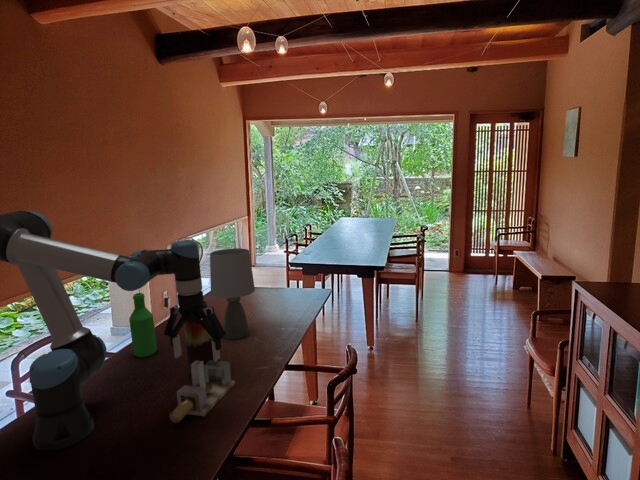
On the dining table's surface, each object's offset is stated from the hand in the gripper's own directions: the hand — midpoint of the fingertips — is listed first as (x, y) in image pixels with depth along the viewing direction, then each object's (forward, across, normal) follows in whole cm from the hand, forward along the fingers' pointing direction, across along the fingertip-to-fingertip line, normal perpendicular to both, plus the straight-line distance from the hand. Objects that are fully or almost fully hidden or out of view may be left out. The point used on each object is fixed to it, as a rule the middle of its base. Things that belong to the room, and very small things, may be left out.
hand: (197, 358), depth 141 cm
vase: (+15, +10, -19) cm, 27 cm away
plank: (+15, 0, -3) cm, 16 cm away
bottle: (+15, +44, -29) cm, 55 cm away
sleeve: (+14, 0, +5) cm, 15 cm away
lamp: (+15, +16, -54) cm, 59 cm away
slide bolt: (+14, 0, +5) cm, 14 cm away
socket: (+14, 0, -11) cm, 18 cm away
